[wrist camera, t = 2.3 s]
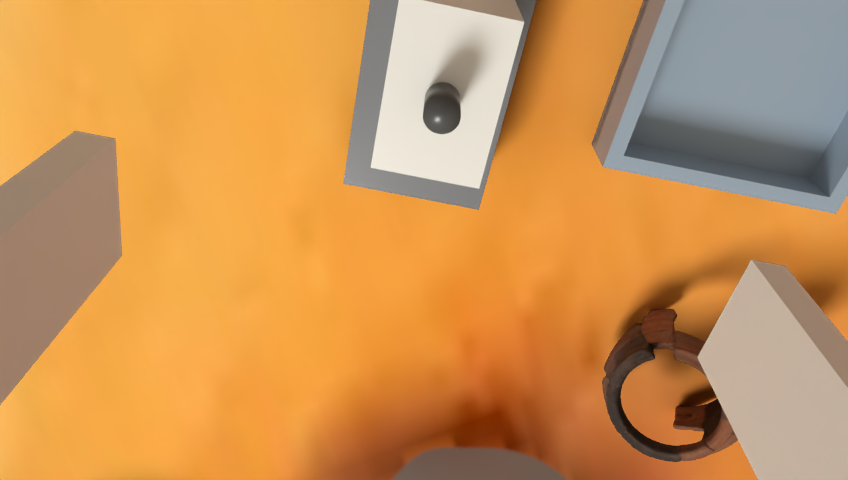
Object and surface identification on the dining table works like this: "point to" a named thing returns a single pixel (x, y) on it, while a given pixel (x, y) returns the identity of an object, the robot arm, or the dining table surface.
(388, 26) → the power strip
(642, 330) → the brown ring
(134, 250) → the dining table surface
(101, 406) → the dining table surface
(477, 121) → the charger
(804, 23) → the tray
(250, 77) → the dining table surface
